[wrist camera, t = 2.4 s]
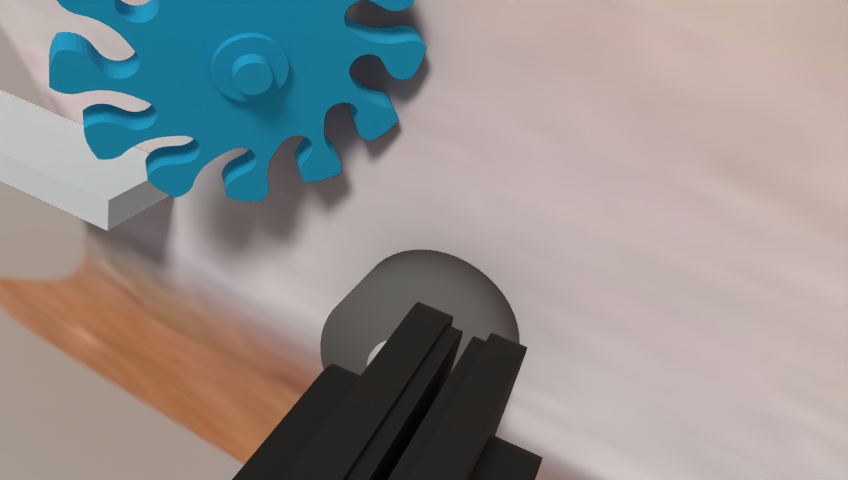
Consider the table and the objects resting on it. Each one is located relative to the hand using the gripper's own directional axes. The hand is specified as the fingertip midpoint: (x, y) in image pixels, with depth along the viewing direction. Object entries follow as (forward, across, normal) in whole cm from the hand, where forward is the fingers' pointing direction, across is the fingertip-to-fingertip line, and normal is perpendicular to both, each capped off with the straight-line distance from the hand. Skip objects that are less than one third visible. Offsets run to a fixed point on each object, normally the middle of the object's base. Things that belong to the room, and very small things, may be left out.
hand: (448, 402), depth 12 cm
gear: (+14, +9, 0) cm, 17 cm away
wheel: (+13, +3, +9) cm, 17 cm away
